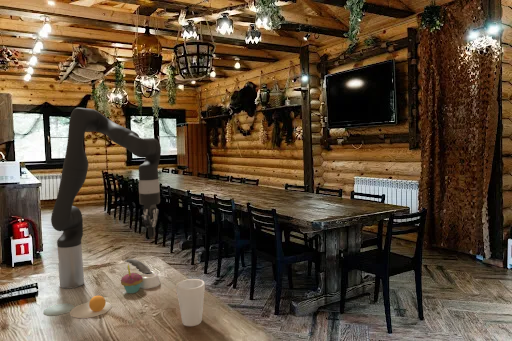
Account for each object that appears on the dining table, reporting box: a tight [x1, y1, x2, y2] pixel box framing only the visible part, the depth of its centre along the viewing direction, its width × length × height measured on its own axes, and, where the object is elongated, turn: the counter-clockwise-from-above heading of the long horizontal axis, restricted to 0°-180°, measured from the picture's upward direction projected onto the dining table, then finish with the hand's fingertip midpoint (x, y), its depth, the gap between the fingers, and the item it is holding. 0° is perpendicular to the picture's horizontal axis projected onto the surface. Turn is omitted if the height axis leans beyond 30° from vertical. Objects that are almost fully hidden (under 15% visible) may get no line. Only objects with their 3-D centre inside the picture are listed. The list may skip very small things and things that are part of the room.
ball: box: [88, 295, 107, 312], centre depth 149 cm, size 6×6×6 cm
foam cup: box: [175, 278, 206, 327], centre depth 138 cm, size 10×9×13 cm
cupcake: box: [120, 264, 143, 294], centre depth 167 cm, size 9×8×12 cm
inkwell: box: [124, 258, 161, 290], centre depth 176 cm, size 9×18×10 cm, turn 64°
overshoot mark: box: [43, 302, 75, 317], centre depth 152 cm, size 10×10×1 cm
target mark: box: [69, 301, 112, 319], centre depth 151 cm, size 14×14×1 cm
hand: (151, 236), depth 159 cm, fingers closed
